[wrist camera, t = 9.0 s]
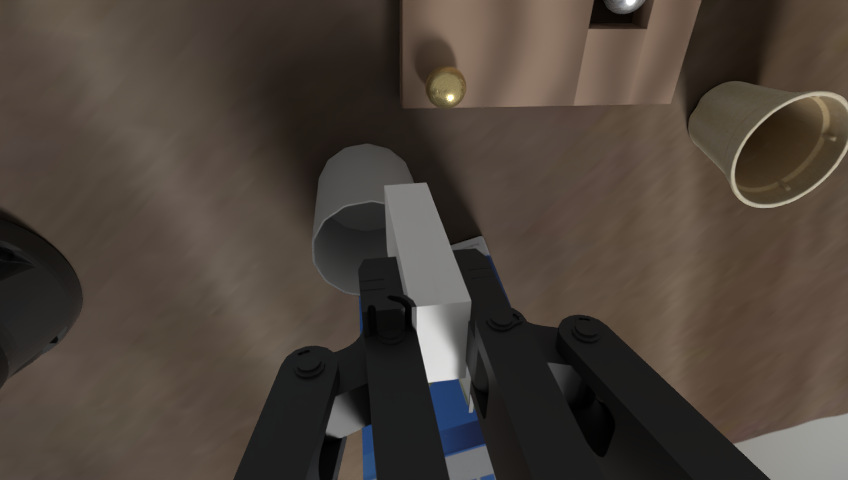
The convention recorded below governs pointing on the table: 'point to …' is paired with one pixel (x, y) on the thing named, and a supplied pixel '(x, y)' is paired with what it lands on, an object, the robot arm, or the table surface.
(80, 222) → the table surface
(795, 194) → the flower pot
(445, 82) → the brass ball
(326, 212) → the cup
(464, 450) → the string lights box
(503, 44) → the board
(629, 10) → the steel ball
